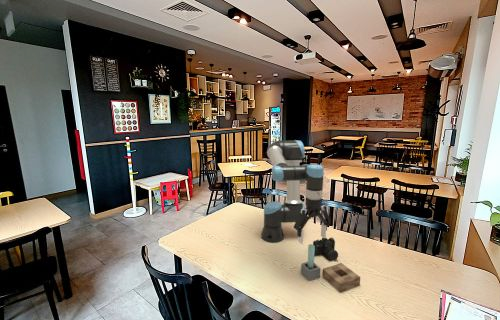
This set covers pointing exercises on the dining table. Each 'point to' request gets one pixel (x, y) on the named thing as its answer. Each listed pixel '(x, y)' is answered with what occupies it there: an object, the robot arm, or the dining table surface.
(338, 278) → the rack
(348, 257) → the dining table surface
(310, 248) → the dowel
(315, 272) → the pen cup
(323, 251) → the camera
